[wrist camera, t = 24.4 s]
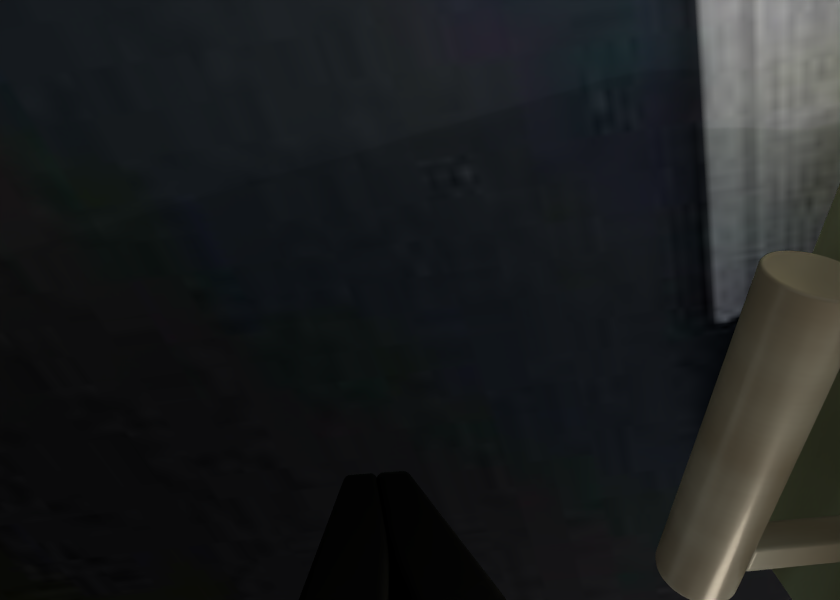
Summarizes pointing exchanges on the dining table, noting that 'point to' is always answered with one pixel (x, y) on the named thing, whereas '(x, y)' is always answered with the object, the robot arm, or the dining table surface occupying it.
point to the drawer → (769, 441)
